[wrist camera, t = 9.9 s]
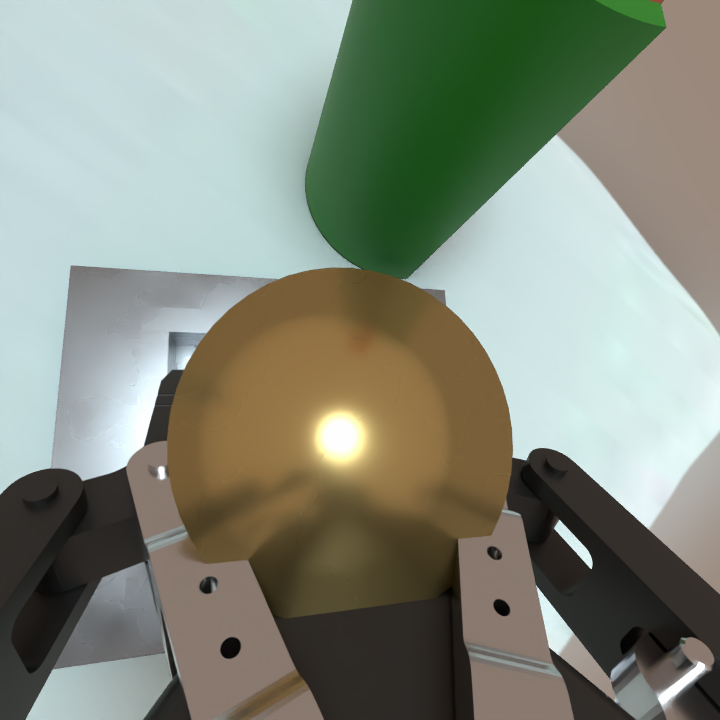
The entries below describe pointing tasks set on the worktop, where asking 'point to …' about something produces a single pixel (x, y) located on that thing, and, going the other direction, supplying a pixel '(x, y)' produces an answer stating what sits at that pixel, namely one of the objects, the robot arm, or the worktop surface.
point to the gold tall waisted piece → (339, 441)
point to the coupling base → (127, 412)
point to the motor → (452, 111)
